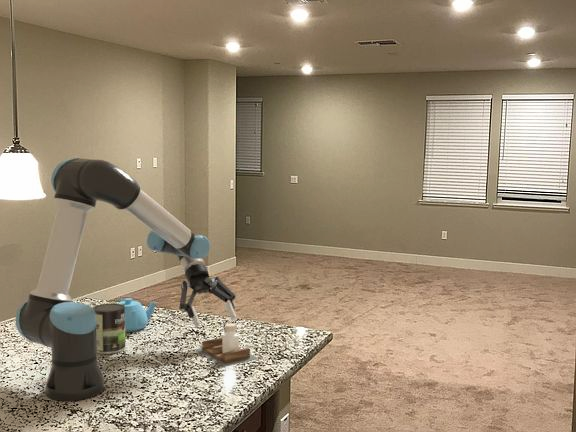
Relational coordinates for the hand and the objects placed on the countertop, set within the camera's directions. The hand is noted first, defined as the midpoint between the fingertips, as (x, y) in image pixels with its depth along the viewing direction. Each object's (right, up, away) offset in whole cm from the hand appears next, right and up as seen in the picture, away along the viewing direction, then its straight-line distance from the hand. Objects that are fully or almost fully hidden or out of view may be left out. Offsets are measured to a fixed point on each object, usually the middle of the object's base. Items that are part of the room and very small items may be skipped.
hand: (216, 322), depth 204 cm
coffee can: (-35, -9, +1) cm, 36 cm away
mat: (+3, -10, -4) cm, 11 cm away
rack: (+3, -10, -4) cm, 11 cm away
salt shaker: (+5, -9, -6) cm, 12 cm away
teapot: (-35, -6, +25) cm, 43 cm away
